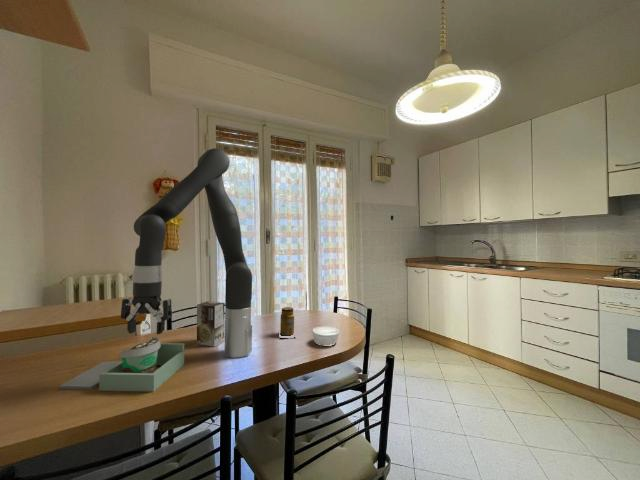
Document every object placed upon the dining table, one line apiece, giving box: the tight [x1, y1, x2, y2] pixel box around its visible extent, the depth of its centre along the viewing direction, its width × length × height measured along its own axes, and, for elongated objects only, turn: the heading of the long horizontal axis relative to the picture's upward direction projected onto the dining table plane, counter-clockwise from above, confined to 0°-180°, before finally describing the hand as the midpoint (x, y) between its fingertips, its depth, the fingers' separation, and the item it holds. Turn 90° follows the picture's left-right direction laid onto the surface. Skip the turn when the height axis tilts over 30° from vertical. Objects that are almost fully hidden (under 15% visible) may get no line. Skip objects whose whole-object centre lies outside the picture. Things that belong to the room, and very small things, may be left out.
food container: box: [119, 336, 161, 373], centre depth 85 cm, size 12×6×10 cm, turn 168°
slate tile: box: [58, 360, 120, 391], centre depth 85 cm, size 9×16×1 cm, turn 0°
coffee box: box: [196, 301, 225, 348], centre depth 114 cm, size 9×6×16 cm
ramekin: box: [312, 325, 340, 345], centre depth 115 cm, size 11×11×5 cm
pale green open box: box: [98, 342, 185, 392], centre depth 85 cm, size 15×17×7 cm
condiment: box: [278, 306, 295, 340], centre depth 123 cm, size 7×8×12 cm
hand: (145, 333), depth 85 cm, fingers open, 8 cm apart
